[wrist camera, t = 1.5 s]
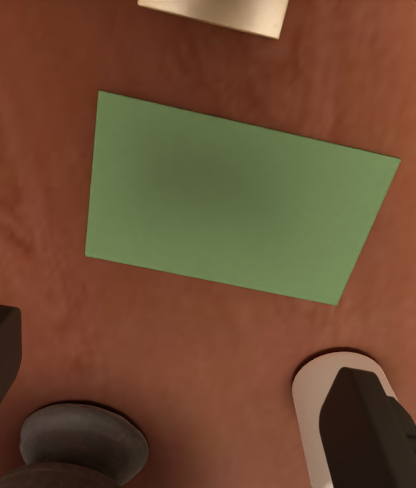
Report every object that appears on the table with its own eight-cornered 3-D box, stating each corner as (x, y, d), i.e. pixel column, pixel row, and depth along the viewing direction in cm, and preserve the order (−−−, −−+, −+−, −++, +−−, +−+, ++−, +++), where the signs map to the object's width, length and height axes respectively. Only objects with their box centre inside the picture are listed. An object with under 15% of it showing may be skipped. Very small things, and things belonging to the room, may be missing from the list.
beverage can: (393, 397, 36) (467, 546, 25) (309, 423, 38) (344, 572, 27) (367, 333, 33) (438, 472, 22) (276, 365, 35) (302, 507, 24)
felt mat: (86, 253, 30) (84, 256, 30) (99, 89, 25) (98, 90, 25) (335, 303, 32) (336, 306, 31) (398, 157, 26) (401, 159, 26)
